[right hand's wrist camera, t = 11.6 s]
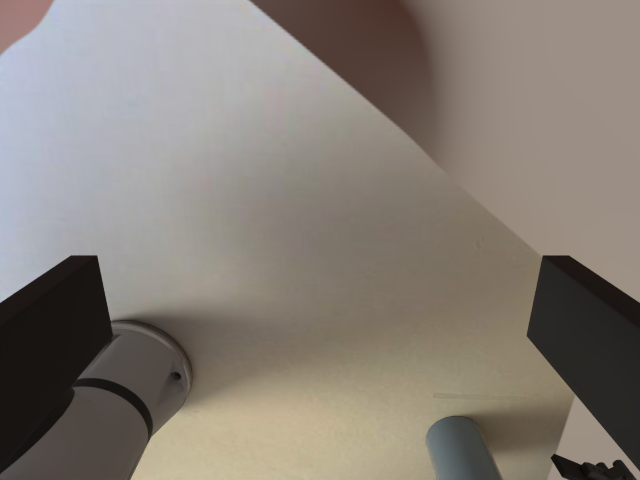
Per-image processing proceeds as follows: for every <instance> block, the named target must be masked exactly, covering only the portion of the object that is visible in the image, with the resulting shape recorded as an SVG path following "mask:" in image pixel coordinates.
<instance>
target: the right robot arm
mask: <svg viewBox="0 0 640 480" xmlns="http://www.w3.org/2000/svg"><path fill="white" fill-rule="evenodd" d="M527 337H528V338H529V339H530V341H531V342H532V343H533V344H534V345H535V346H536V348H537V349H538V350H539V351H540V352H541V354H542V355H543V356H544V357H545V358H546V360H547V361H548V362H549V363H550V364H551V366H552V367H553V368H554V369H555V370H556V372H557V373H558V374H559V375H560V376H561V378H562V379H563V380H564V381H565V382H566V384H567V385H568V386H569V387H570V388H571V390H572V391H573V392H574V393H575V394H576V395H577V397H578V398H579V399H580V400H581V401H582V403H583V404H584V405H585V406H586V407H587V409H588V410H589V411H590V412H591V413H592V415H593V416H594V417H595V418H596V419H597V421H598V422H599V423H600V424H601V425H602V427H603V428H604V429H605V430H606V431H607V433H608V434H609V435H610V436H611V437H612V439H613V440H614V441H615V442H616V443H617V445H618V446H619V447H620V448H621V449H622V450H623V452H624V453H625V454H626V455H627V456H628V458H629V459H630V460H631V461H632V462H633V464H634V465H635V466H636V467H637V468H638V470H639V471H640V303H639V302H638V301H636V300H635V299H633V298H632V297H630V296H629V295H627V294H626V293H624V292H623V291H621V290H620V289H618V288H617V287H615V286H614V285H612V284H611V283H609V282H608V281H606V280H605V279H603V278H602V277H600V276H599V275H597V274H596V273H594V272H593V271H591V270H590V269H588V268H587V267H585V266H584V265H582V264H581V263H579V262H578V261H576V260H575V259H573V258H572V257H570V256H543V257H542V262H541V267H540V272H539V277H538V282H537V287H536V292H535V297H534V302H533V307H532V312H531V317H530V322H529V327H528V331H527ZM191 384H192V370H191V366H190V362H189V360H188V358H187V356H186V354H185V352H184V351H183V349H182V348H181V347H180V346H179V345H178V344H177V343H176V342H175V340H173V339H172V338H171V337H170V336H168V335H167V334H166V333H164V332H162V331H161V330H159V329H157V328H155V327H152V326H150V325H147V324H144V323H139V322H134V321H114V322H110V317H109V312H108V307H107V302H106V297H105V292H104V287H103V282H102V277H101V272H100V267H99V262H98V257H97V256H70V257H68V258H67V259H65V260H64V261H62V262H61V263H59V264H58V265H56V266H55V267H53V268H52V269H50V270H49V271H47V272H46V273H44V274H43V275H41V276H40V277H38V278H37V279H35V280H34V281H32V282H31V283H29V284H28V285H26V286H25V287H23V288H22V289H20V290H19V291H17V292H16V293H14V294H13V295H11V296H10V297H8V298H7V299H5V300H4V301H2V302H1V303H0V480H130V479H131V477H132V475H133V473H134V471H135V469H136V467H137V465H138V463H139V461H140V459H141V457H142V455H143V453H144V450H145V448H146V446H147V444H148V442H149V440H150V438H151V437H152V436H153V435H154V434H155V433H156V432H157V431H158V430H159V429H160V428H161V427H162V426H163V425H164V424H165V423H166V422H167V421H168V420H169V419H170V418H171V417H172V416H173V415H175V413H176V412H177V411H178V410H179V409H180V408H181V407H182V405H183V404H184V402H185V399H186V397H187V395H188V393H189V390H190V388H191Z"/></svg>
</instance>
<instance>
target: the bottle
mask: <svg viewBox="0 0 640 480" xmlns="http://www.w3.org/2000/svg"><path fill="white" fill-rule="evenodd" d="M426 444H427V447H428V451H429V454H430V458H431V462H432V465H433V469H434V472H435V476H436V479H437V480H503V478H502V476H501V473H500V471H499V469H498V467H497V465H496V462H495V460H494V458H493V456H492V453H491V451H490V449H489V447H488V445H487V442H486V440H485V438H484V436H483V433H482V431H481V429H480V427H479V426H478V424H476V423H475V422H474V421H473V420H471V419H469V418H466V417H460V416H453V417H447V418H444V419H442V420H440V421H438V422H436V423H435V424H434V425H433V426H432V427H431V428H430V429H429V431H428V433H427V436H426Z"/></svg>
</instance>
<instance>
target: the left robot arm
mask: <svg viewBox="0 0 640 480" xmlns="http://www.w3.org/2000/svg"><path fill="white" fill-rule="evenodd" d="M551 459H552V461H553V463H554V464H555V466H556V468H557V469H558V471H559V472H560V474H561V476H562V477H563V478H566V479H568V480H636V478H635V477H634V476H633V474H632V473H631V472H630V471H629V469H628V468H627V467H626V465H625V464H624V463H623V462H622V461H621V460H616V461H614V462H613V466H614V467H612V468H610V469H608V468H607V466H606V465H605V464H604V463H602V462H600V463H598V464H596V466H595V465H593V464H591V463H587V462H584V463H583V464H582V465H580V464H578V463H575V462H573V461H571V460H568V459H566V458H563V457H561V456H558V455H556V454H554V455H553V456H552V457H551Z"/></svg>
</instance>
